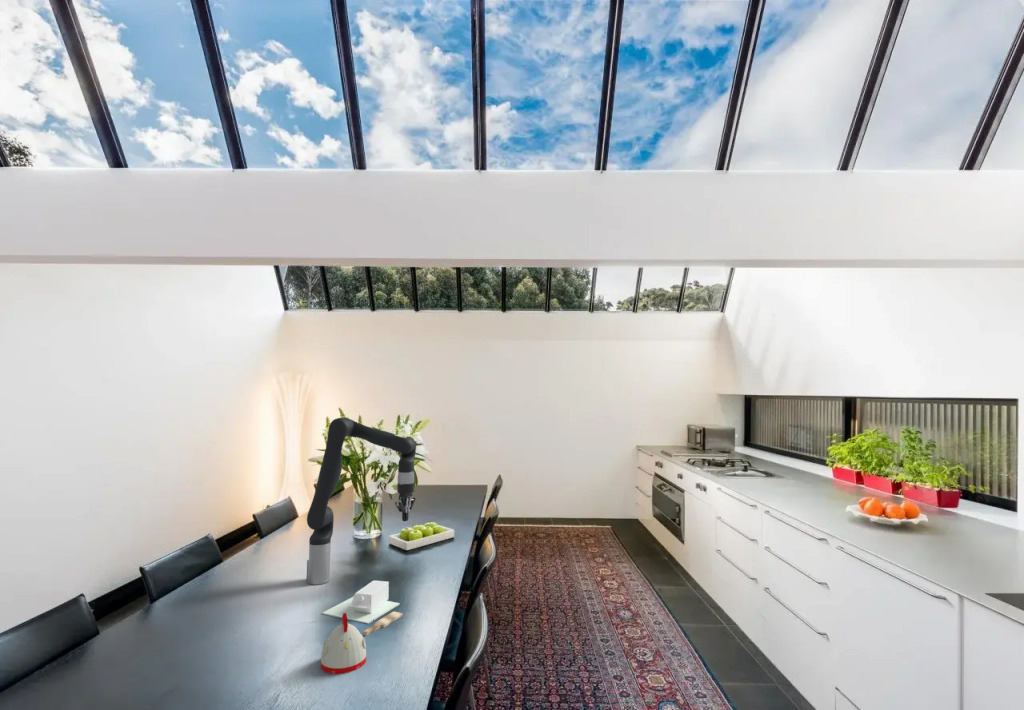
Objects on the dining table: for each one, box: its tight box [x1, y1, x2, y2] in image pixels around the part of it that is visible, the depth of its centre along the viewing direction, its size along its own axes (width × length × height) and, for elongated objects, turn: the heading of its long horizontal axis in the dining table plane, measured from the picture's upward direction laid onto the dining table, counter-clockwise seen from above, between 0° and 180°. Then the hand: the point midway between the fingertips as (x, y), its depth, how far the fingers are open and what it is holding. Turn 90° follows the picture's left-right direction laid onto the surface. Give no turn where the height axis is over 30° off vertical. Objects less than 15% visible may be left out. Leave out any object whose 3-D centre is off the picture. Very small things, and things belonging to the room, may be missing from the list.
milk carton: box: [349, 580, 390, 614], centre depth 212 cm, size 7×7×19 cm
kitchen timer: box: [320, 613, 367, 675], centre depth 170 cm, size 14×14×15 cm
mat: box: [321, 595, 401, 625], centre depth 211 cm, size 22×20×1 cm
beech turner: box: [362, 611, 404, 636], centre depth 198 cm, size 20×4×1 cm, turn 157°
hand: (405, 520), depth 239 cm, fingers closed
